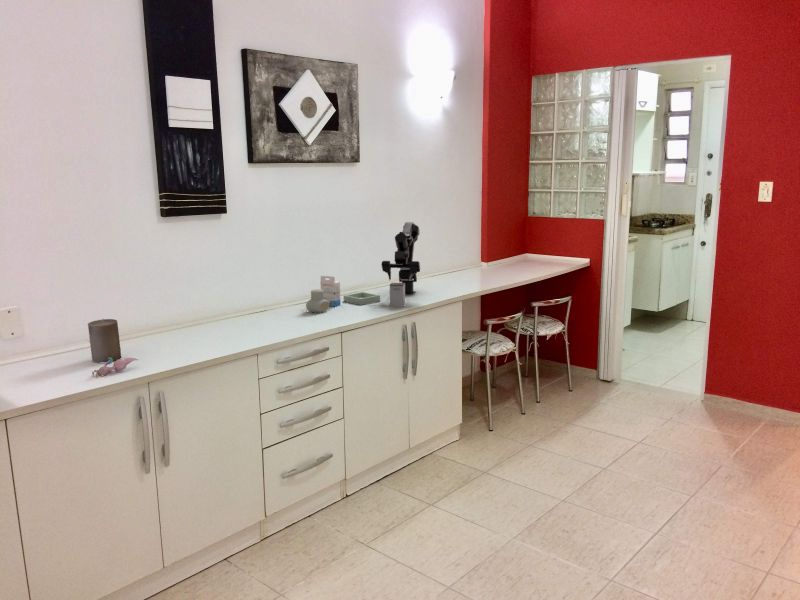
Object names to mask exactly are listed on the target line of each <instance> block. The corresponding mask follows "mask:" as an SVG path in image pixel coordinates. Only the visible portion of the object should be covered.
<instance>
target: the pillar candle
mask: <svg viewBox="0 0 800 600" xmlns="http://www.w3.org/2000/svg"><path fill="white" fill-rule="evenodd" d="M118 325H119V324H118V320H117V319H111V318H102V319H97V320H93V321H90V322H88V323H87V327H88V335H89V343H90V351H91V361H92V362H93V361H94V362H93V363H96V362H107V361H109V359H108V358H109V357H111V358H112V359H113V362H115V360H116V361H117V360H118V359H120V358H121V359H122V353H121V350H122V349H121V342H120V333H119V326H118Z"/></svg>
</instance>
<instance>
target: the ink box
mask: <svg viewBox="0 0 800 600" xmlns="http://www.w3.org/2000/svg"><path fill="white" fill-rule="evenodd" d="M319 284H320V290H323V291H324V299H325V300H327V301H328V302H329V307H333V306H336V307H338V305H339V306H341V301H342V300H341V282H340V281H339V280H336V281H335V276H328V275H320V283H319Z"/></svg>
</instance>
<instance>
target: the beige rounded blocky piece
mask: <svg viewBox="0 0 800 600" xmlns="http://www.w3.org/2000/svg"><path fill="white" fill-rule="evenodd" d="M305 308H306V310H307V311H309V312H311V313H315V312H317V313H318V312H322V313H324V312H326V311H327V310H328V309H329V308H330V306H329V302H328V301H327V300H325V299H324V291H323V290H321V289H312V290H310V299H309V300H308V301H307V302H306V303H305ZM317 313H316V314H317ZM318 314H319V313H318Z"/></svg>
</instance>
